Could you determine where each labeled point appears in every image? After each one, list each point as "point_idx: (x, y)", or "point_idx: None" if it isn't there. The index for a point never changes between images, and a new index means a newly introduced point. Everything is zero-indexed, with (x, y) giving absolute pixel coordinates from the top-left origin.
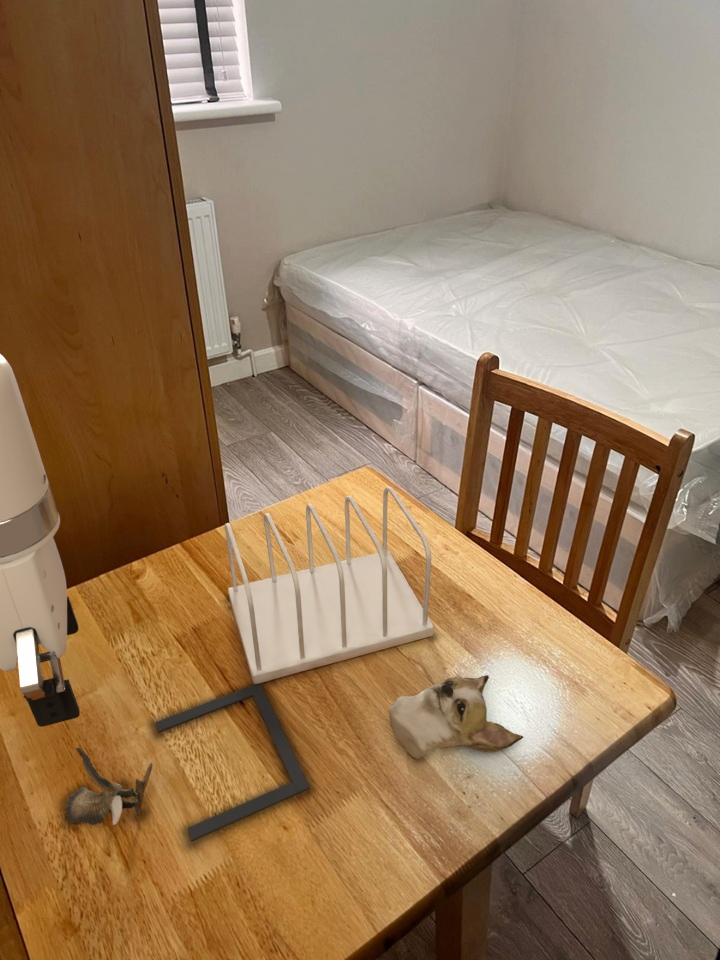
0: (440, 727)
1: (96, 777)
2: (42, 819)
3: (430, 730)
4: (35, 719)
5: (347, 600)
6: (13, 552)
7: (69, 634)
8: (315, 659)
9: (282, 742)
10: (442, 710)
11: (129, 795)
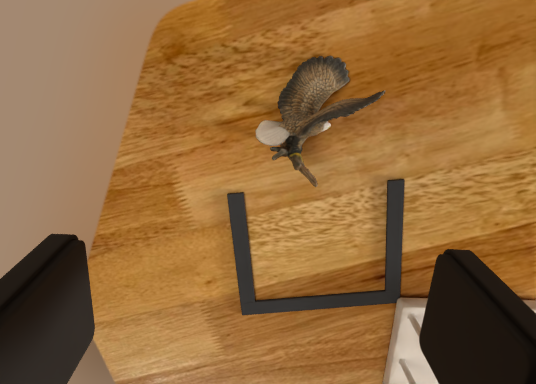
0: None
1: (317, 118)
2: (326, 23)
3: None
4: (33, 249)
5: None
6: None
7: (422, 324)
8: (390, 371)
9: (306, 305)
10: None
11: (291, 147)
